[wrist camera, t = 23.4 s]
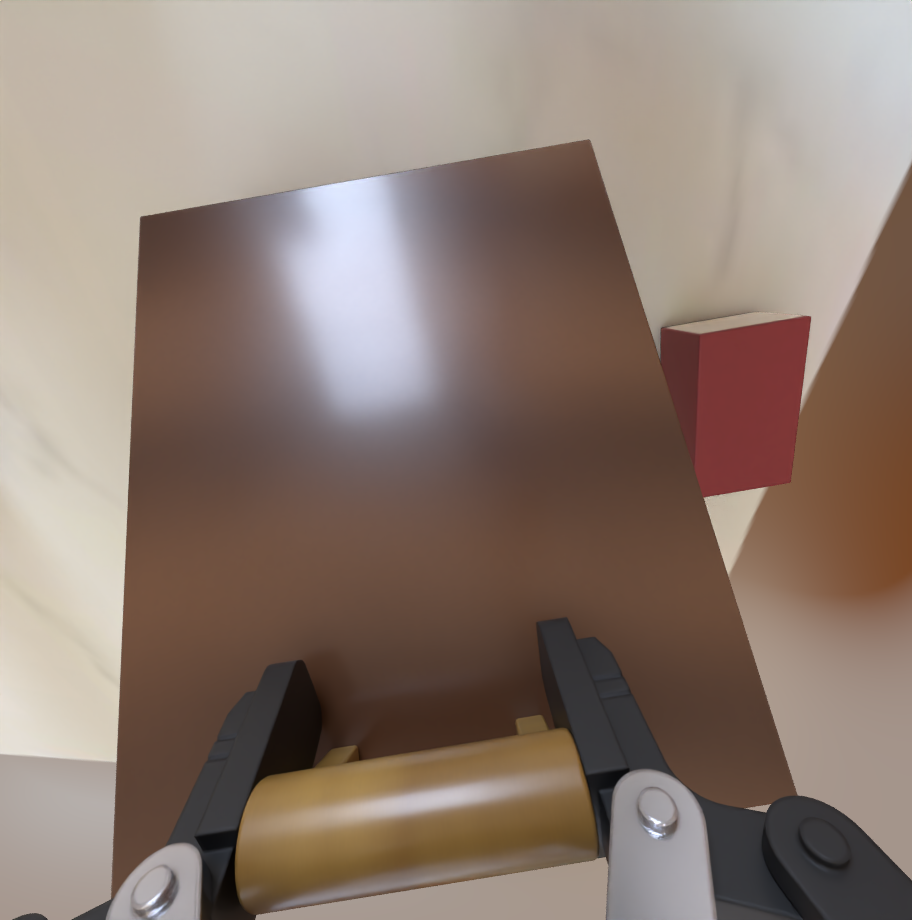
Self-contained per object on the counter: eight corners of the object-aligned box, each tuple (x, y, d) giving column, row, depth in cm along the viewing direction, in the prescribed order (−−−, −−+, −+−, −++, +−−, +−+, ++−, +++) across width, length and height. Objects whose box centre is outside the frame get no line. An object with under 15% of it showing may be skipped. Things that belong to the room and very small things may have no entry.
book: (744, 457, 29) (791, 483, 25) (659, 472, 29) (693, 499, 25) (756, 310, 26) (812, 314, 22) (660, 326, 26) (699, 334, 22)
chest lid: (777, 785, 11) (1013, 942, 6) (135, 889, 11) (-134, 1125, 6) (585, 159, 16) (629, -20, 11) (155, 233, 16) (20, 86, 12)
